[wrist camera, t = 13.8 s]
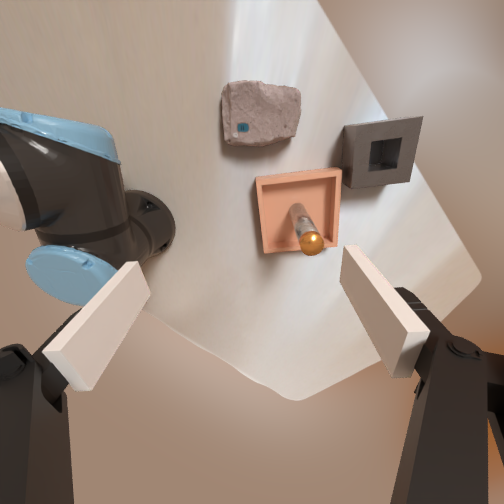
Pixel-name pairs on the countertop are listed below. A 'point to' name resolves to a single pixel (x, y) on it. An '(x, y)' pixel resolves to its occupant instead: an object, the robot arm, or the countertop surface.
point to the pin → (305, 230)
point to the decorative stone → (259, 113)
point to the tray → (307, 193)
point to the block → (393, 152)
